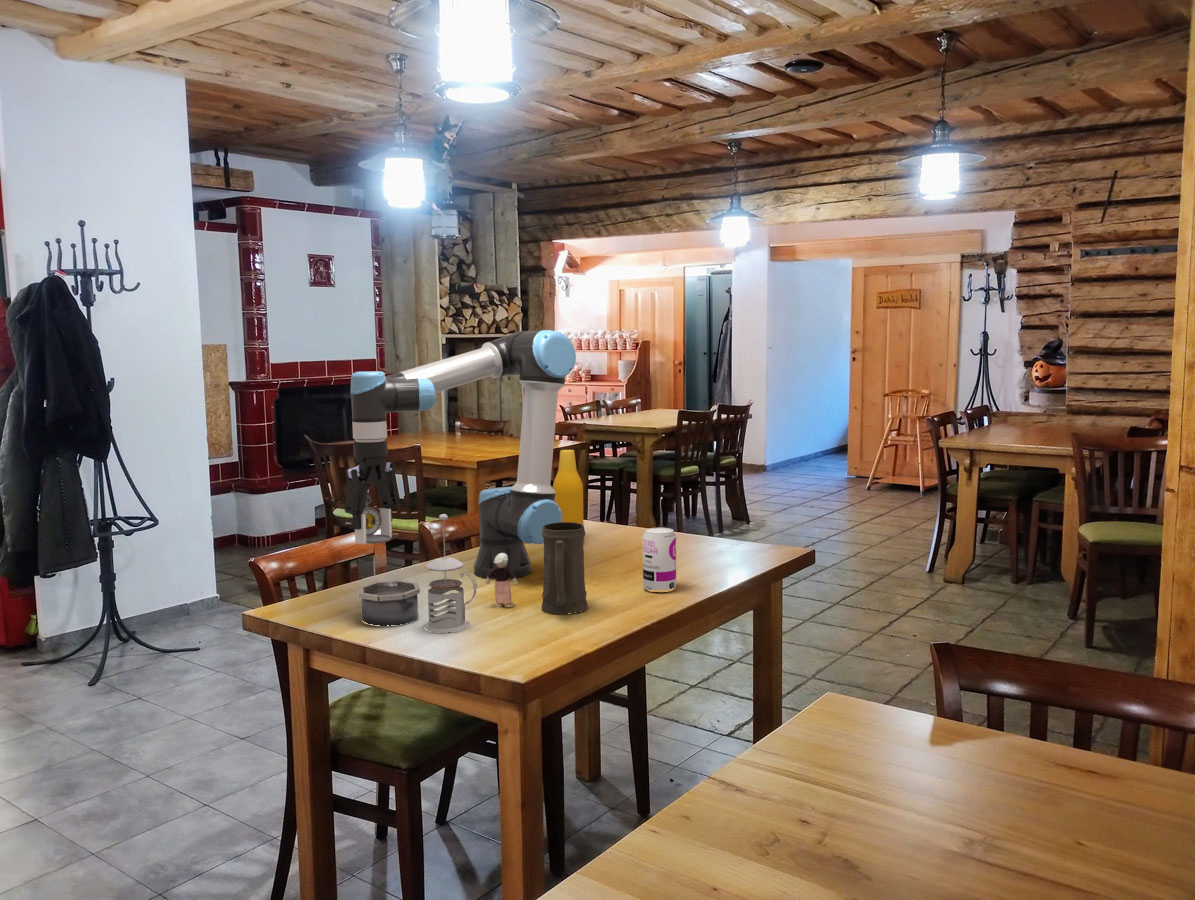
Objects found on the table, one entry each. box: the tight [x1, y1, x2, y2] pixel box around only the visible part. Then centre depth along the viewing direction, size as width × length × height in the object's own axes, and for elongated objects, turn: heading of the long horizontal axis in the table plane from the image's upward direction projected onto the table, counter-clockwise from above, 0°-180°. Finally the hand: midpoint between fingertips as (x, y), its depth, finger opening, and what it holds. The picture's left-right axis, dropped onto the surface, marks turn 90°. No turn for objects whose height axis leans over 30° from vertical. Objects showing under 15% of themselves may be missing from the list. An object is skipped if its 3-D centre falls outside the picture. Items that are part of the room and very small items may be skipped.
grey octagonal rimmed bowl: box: [358, 579, 421, 627], centre depth 215 cm, size 13×13×7 cm
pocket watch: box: [362, 496, 392, 545], centre depth 217 cm, size 8×8×10 cm
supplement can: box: [642, 527, 677, 591], centre depth 236 cm, size 8×8×15 cm
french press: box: [424, 513, 478, 634], centre depth 208 cm, size 10×12×25 cm
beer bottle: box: [552, 449, 585, 545], centre depth 287 cm, size 9×9×29 cm
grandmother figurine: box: [485, 553, 519, 608], centre depth 224 cm, size 8×4×13 cm, turn 91°
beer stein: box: [541, 522, 589, 615], centre depth 218 cm, size 15×11×20 cm
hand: (373, 539), depth 218 cm, fingers closed on pocket watch, 7 cm apart
